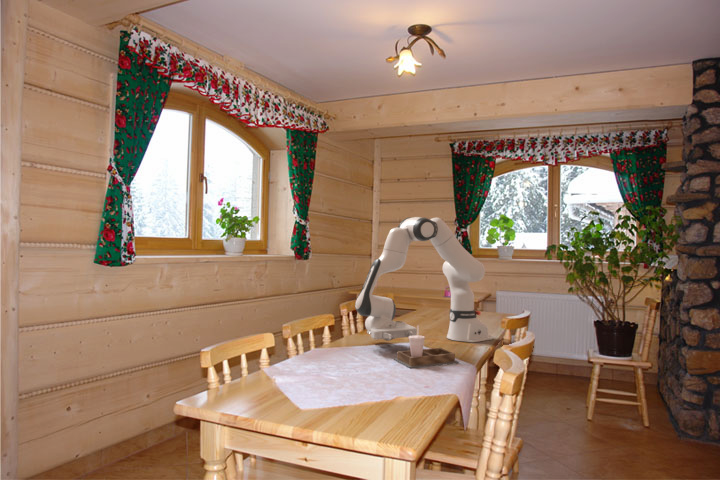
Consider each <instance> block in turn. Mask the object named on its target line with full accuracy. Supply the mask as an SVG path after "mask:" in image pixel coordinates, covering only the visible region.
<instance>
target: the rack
mask: <svg viewBox="0 0 720 480" xmlns="http://www.w3.org/2000/svg"><path fill="white" fill-rule="evenodd" d="M396 354H397V355H396V358H397V359H398V360H400V361H402V362H404V363H406V364H408V365H410V366H415V365H425V364H435V363H444V362H454V361H456V353H455V352H451V351H450V350H447V349H444V348H443V347H442V348H441V347H434V348H433V347H431V348H423V353H422V356H419V357H411V350H402V351H401V350H400V351H397V353H396Z"/></svg>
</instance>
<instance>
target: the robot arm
mask: <svg viewBox="0 0 720 480" xmlns="http://www.w3.org/2000/svg"><path fill="white" fill-rule="evenodd" d="M413 241H414V242H426V241H430V243H431V245H432V246H433V247H434V249H435V250H436V252H437V253H438V255H439V256H440V258H441V259H442V260H444V262H443V264H442V273H443V275H444V276H445V277H446V279H447V280H446V281H447V282H448V286H449V291H450V292H449V293H450V308H449V327H448V331H447V334H446V338H447V339H448V340H452V341H457V342H466V343H467V342H468V343H479V342H483V341H489V340H493V339H494V338H493V336H492V335H489V330H488V327H487V325H486V324H485V323H484V322H483V321H481V320H480V319H479V318H478V316H481V314H482V311H481V310H475V293H474V292H473V290H472V289H471V287H470V283H475V282H480V281H481V280H482V279H484V278H485V274H486V268H485V267H486V266H485V265H484V264H483V263H482V262H481V261H480V260H478V259H476V258H475V257H474V256H473V255H472V254H471V253H470V252H469V251H468V250H466V248H465V247H464V246H463V245H462V244H461V243H460V241H459V240H458V238H457V236H455V234H454V232H453V231H452V229H451V228H450V227H449V226H448V224H447V223H446V222H445V221H444V220H443V219H442V218H440V217H432V218H430V219H429V218H428V217H421V216H414V217H406V218H403V220H401V222H400V223H399V225H398V226H397V227H393V228H391V229H390V230H389V232H388V234H387V236H386V240H385V241H384V246H383V249H382V253H381V255H379V257H378V258H377V259H374V261H373V262H372V263H371V266H370V268H369V270H368V273H367V275H366V277H365V280H364V282H363V285H362V288H361V290H360V292H359V294H358V296H356V297H357V298H356V300H355V303H354V308H355V311H356V313H358V315H360V317H367V318H366V319H365V322H364V326H365V329H366V333H367V334H369V335H370V338H372V339H373V340H384V341H387V342H388V341H389V342H390V341H391V340H392V341H393V340H394V339H402V338H409V336H413V335H417V327H415V326H413V325H411V324H408V323H406V322H405V321H399V320H398V321H397V320H396V321H395V320H394V319H395V316H396V312H397V311H396V310H397V308H396V304H395V302H394V300H393V299H392V298H391V297H386V296H379V295H375V294H373V293H374V289H375V287H376V285H377V282H378V281H379V278H380V277H381V276H382V275H384V274H386V273H391V272H396V271H399V270H400V269H402V268H403V267H404V265H405V263H406V261H407V257H408V251H409V246H410V245H411V243H412V242H413Z"/></svg>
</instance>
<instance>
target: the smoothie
mask: <svg viewBox="0 0 720 480" xmlns="http://www.w3.org/2000/svg"><path fill="white" fill-rule="evenodd" d="M416 326H417V327H416V329H417V334H416V335H413V336H409V337H408V340H409V348H410V350H411V357H419V356H422V353H423V349H424V345H425V344H424V343H425V339H426V336H423V335H420V330H419V329H420V328H419V327H420V326H419V325H416Z"/></svg>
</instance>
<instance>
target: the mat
mask: <svg viewBox="0 0 720 480" xmlns="http://www.w3.org/2000/svg"><path fill="white" fill-rule="evenodd" d="M393 361H395V362H397V363H399V364H400V365H402V366H405V367H406V368H408V369H416V368H417V369H418V368H425V367H427V368H428V367H434V366H435V367H436V365H438V366H444V365H443V364H447V365H454V364H453V363H456V364H460V362H459V361H458V360H455V361H454V362H444V363H435V364H425V365H415V366H410V365H408V364H406V363H404V362H402V361H400V360H398V359H397V357H396V358H395V357H394V358H393Z"/></svg>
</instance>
